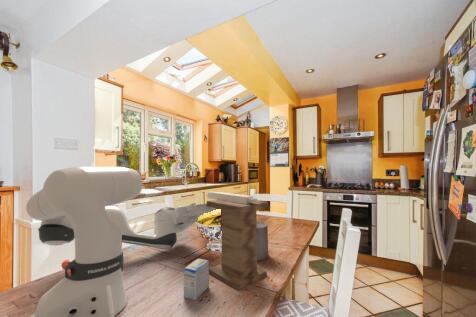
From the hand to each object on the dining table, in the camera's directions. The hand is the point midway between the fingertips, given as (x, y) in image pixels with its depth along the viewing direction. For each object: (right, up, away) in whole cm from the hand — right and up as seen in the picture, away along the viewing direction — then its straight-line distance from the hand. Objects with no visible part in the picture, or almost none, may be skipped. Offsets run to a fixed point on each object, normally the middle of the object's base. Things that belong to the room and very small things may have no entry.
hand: (203, 203), depth 98 cm
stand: (+15, -22, -17) cm, 32 cm away
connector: (+12, +4, -13) cm, 18 cm away
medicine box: (+2, -22, -29) cm, 36 cm away
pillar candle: (+23, -23, -1) cm, 32 cm away
